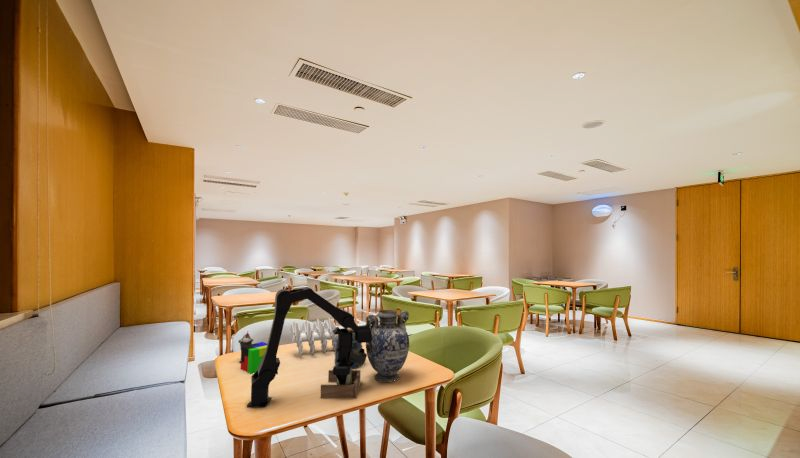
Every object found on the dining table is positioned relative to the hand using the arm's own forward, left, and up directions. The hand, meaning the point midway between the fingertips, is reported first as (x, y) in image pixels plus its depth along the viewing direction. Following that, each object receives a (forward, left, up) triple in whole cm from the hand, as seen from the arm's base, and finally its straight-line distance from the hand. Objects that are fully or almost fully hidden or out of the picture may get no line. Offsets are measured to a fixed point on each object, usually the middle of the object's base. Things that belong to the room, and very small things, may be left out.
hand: (344, 385), depth 131 cm
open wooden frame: (0, +1, -2) cm, 2 cm away
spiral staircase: (+46, +21, -2) cm, 51 cm away
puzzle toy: (+23, +43, -2) cm, 49 cm away
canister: (+28, +2, -2) cm, 28 cm away
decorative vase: (+12, -17, -2) cm, 21 cm away
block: (0, 0, -2) cm, 2 cm away
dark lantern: (+32, +52, -2) cm, 61 cm away
